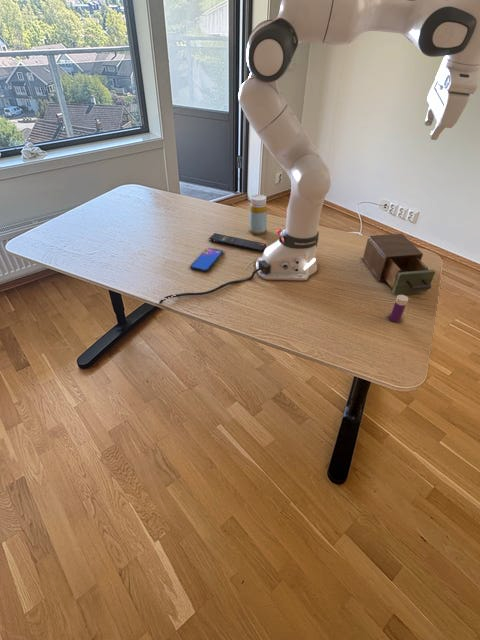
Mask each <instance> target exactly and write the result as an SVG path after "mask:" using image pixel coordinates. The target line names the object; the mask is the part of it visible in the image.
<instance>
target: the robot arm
mask: <svg viewBox="0 0 480 640" xmlns="http://www.w3.org/2000/svg"><path fill="white" fill-rule="evenodd" d="M279 5H280V6H279V12H278V14H277V17H276V18H274V19H266V20H263V21H261V22H260V23H258V24H257V25H256V26H255V27H254V28H253V29H252V31H251V33H250V34H249V36H248V39H247V43H246V51H245V60H246V63H247V64H246V65H247V68H248V70H249V72H250V73H249V76H248V77H247V78H246V79H245V80H244V82H243V83H241V86H240V88H239V91H238V94H237V97H238V103H239V106H240V108H241V110H242V112H243V114H244V116H245V118H246V119H247V121H248V123H249V125H250V126H251V128H252V129H253V131H254V132H255V133H256V135H257V136H258V138H259V139H260V140H261V142H262V144H263V145H264V146H265V148H266V149H267V150H268V152H269V153H270V154H271V156H272V157H273V158H274V159H275V161H277V163H278V164H279V165H280V166H281V168H282V169H283V170H284V172H285V173H286V174H287V176H288V178H289V180H290V185H291V186H290V195H289V201H288V205H287V207H286V217H285V228H284V229H283V230H282V228H280V227H278V228H276V230H275V234H276V235H277V236H278V239H277V240H276V241H274V242H272V243H271V244H269V245H268V246H266V248H265V250H264V251H262V252H263V253H262V256H259V257H258V258H257V259H256V261H255V270H254V271H253V272H252V273H251V276H249V277H247V278H244V279H240V280H232V281H228V282H225V283H222V284H221V285H219V286H217V287H215V288H213V289H210V290H207V291H202V292H183V293H177V294H175V295H176V296H173V295H174V294H169V295H167V296H164V297H163V298H167V299H170V298H178V297H184V296H201V295H203V296H204V295H207V294H211V293H213V292H216V291H219V290H220V289H223V288H224V287H226V286H229V285H231V284H238V283H243V282H246V281H250V280H252V279H253V278H254V276H255V274H258V276H260V278H262V279H264V280H274V281H276V280H277V281H278V280H279V281H302V282H303V281H306V280H308V279H309V278H310V276H312V275H313V274H315V273H316V272H317V270H318V264H317V247H318V243H319V239H320V238H319V237H320V234H319V233H320V232H319V227H320V219H321V213H322V208H323V206H324V202H325V199H326V197H327V194H328V193H329V191H330V189H331V184H332V183H331V182H332V181H331V172H330V169H329V168H328V166H327V164H326V162H325V161H324V159H323V158H322V157H321V155H320V153H319V152H318V149H317V148H316V147H315V145H314V143H313V142H312V140H311V139H310V137H309V135H308V134H307V133H306V131H305V129H304V128H303V126H302V124H301V123H300V121H299V120H298V119H299V118H298V117H297V116H296V114H295V113H294V111H293V110H292V108H291V107H290V105H289V103H288V102H287V100H286V98H285V97H284V95H283V94H282V92H281V90H280V88H279V85H278V80H279V79H281V78H282V77H283V76H284V75H285V74H286V72H287V71H288V69H289V67H290V65H291V63H292V60H293V57H294V55H295V53H296V51H297V49H298V46H299V45H300V44H303V43H311V44H317V45H318V44H319V45H325V46H343V45H350V44H351V43H353V42H354V41H355V40H357V39H358V37H360V36H361V35H362V34H364V33H367V32H383V33H393V34H401V35H402V36H404V37H405V38H406V39H407V40H408V41H409V42H411V44H413V45H414V46H415V47H416V48H417V49H418V51H419V52H420V53H421V54H422V55H424V56H426V57H431V58H437V57H442V60H441V63H440V65H439V68H438V70H437V73H436V75H435V79H434V81H433V83H432V85H431V87H430V89H429V91H428V93H427V97H426V102H427V104H428V108H427V113H426V117H425V119H424V122H423V123H424V125H425V126H427V127H431V126H432V125H433V122H434V119H435V122H436V123H435V127H434V129H433V130H431V133H430V135H429V138H430V140H431V141H432V140H433V141H436V140H438V139H439V137H440V134H441V133H442V132H443V131H444V130H445V129H452V128H453V127H454V126H455V125H457V123H458V121H459V119H460V117H461V116H462V114H463V112H464V110H465V108H466V107H467V105H468V103H469V100H470V97H471V95H474V94H475V93H476V91H477V89H478V87H479V79H478V77H479V72H480V0H281V1H280V4H279ZM171 296H173V297H171ZM168 297H170V298H168ZM165 300H166V299H164V300H162V299H160V300H159V302H158V304H162V303H163V302H164V301H165Z"/></svg>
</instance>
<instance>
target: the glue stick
mask: <svg viewBox="0 0 480 640" xmlns="http://www.w3.org/2000/svg"><path fill="white" fill-rule="evenodd" d="M408 301H409V297H408V296H407V295H406V294H397V295H396V297H395V302H394V303H393V307H392V309H391V313H390V315H389V320H390V321H392V322H393V323H394V322H395V323H399V322H400V321H401V319H402V318H403V317H402V316H403V314H404V311H405V309H406V306H407V304H408Z"/></svg>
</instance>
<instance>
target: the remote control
mask: <svg viewBox="0 0 480 640" xmlns="http://www.w3.org/2000/svg"><path fill="white" fill-rule="evenodd" d="M209 239H211V240H210V241H212V242H216V243H220V244H224V245H230V246H233V247H239V248H244V249H247V250H253V251H258V252H264V250H265V248H266V247H267V243H264V242H260V241H254V240H250V239H246V238H240V237H235V236H230V235H225V234H222V233H216V232H214V233H213V234H212V235H211V236H210V237H209V238H208V240H209ZM214 240H215V241H214Z"/></svg>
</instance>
